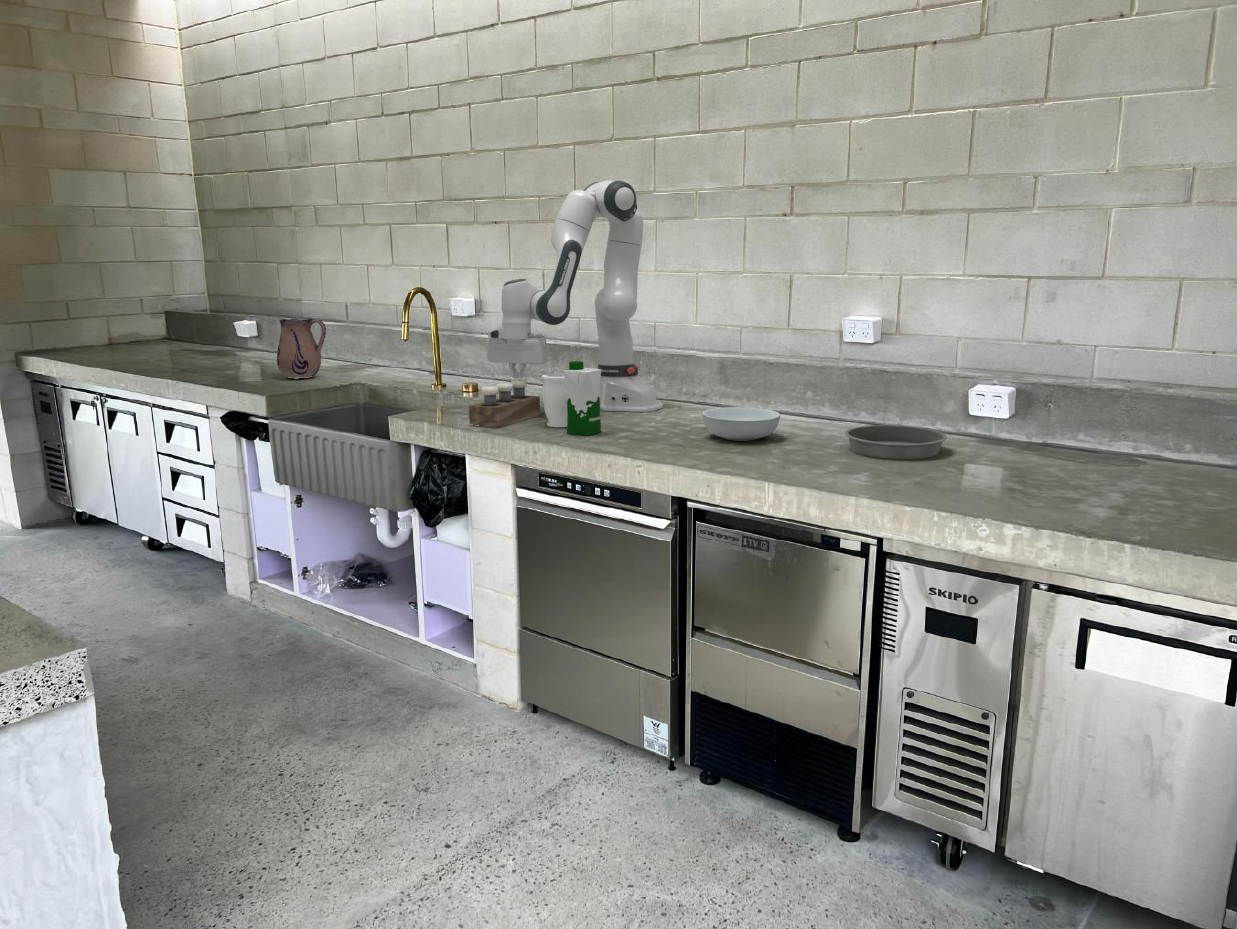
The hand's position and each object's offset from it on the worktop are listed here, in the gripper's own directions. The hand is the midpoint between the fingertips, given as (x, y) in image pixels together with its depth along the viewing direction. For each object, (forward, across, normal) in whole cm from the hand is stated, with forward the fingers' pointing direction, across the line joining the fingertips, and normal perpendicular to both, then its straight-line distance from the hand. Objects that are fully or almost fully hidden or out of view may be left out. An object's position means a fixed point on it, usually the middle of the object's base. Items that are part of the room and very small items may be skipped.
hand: (517, 377), depth 289 cm
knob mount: (+12, 0, +8) cm, 14 cm away
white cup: (+12, -20, +9) cm, 25 cm away
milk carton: (+12, -32, +17) cm, 38 cm away
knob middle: (+8, 0, +8) cm, 11 cm away
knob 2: (+7, 0, 0) cm, 7 cm away
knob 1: (+8, 0, +16) cm, 17 cm away
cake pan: (+11, -116, +8) cm, 117 cm away
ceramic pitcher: (+14, +137, -49) cm, 146 cm away
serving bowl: (+12, -75, +7) cm, 76 cm away
